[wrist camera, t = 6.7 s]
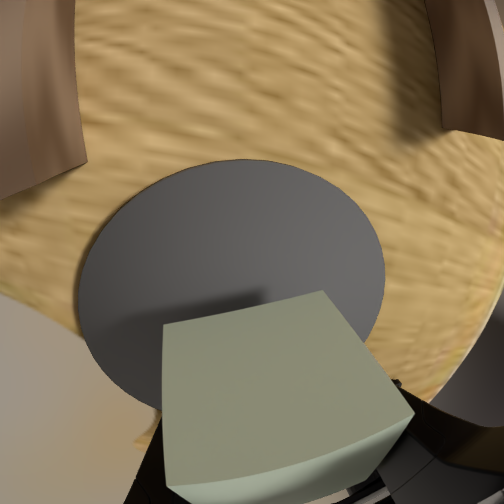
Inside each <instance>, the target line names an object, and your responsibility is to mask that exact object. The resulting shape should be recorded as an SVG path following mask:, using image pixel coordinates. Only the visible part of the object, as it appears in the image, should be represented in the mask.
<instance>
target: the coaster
mask: <svg viewBox="0 0 504 504" xmlns="http://www.w3.org/2000/svg"><path fill="white" fill-rule="evenodd" d="M384 285H385V264H384V258H383V253H382V248H381V245H380V242H379V240H378V237H377V234H376V232H375V230H374V228H373V226H372V225H371V223H370V221H369V219H368V218H367V216H366V215H365V214H364V212H363V211H362V210H361V209H360V208H359V206H358V205H357V204H356V203H355V202H354V201H353V200H352V199H351V198H350V197H349V196H347V195H346V194H345V193H344V192H343V191H342V190H340V189H339V188H338V187H336V186H334V185H333V184H331V183H329V182H328V181H326V180H324V179H323V178H321V177H319V176H317V175H314V174H312V173H309V172H307V171H304V170H302V169H299V168H296V167H294V166H291V165H286V164H282V163H277V162H272V161H266V160H251V159H236V160H225V161H215V162H210V163H206V164H202V165H198V166H194V167H190V168H187V169H184V170H182V171H179V172H177V173H175V174H172V175H170V176H167V177H165V178H163V179H161V180H159V181H158V182H156V183H154V184H153V185H151V186H149V187H148V188H146V189H144V190H143V191H141V192H140V193H138V194H137V195H136V196H135V197H134V198H132V199H131V200H130V201H129V202H128V203H127V204H125V205H124V206H123V207H122V208H121V209H120V210H119V211H118V212H117V213H116V214H115V216H114V217H113V218H112V219H111V220H110V221H109V223H108V224H107V225H106V226H105V228H104V229H103V230H102V232H101V233H100V235H99V237H98V238H97V240H96V242H95V243H94V245H93V247H92V249H91V250H90V252H89V255H88V257H87V260H86V263H85V265H84V268H83V271H82V275H81V280H80V285H79V291H78V312H79V319H80V325H81V329H82V332H83V335H84V338H85V341H86V344H87V346H88V348H89V350H90V352H91V354H92V356H93V358H94V359H95V361H96V362H97V363H98V365H99V366H100V367H101V369H102V370H103V371H104V372H105V374H106V375H107V376H108V377H109V378H110V379H111V380H112V381H113V382H114V383H115V384H116V385H118V386H119V387H120V388H121V389H123V390H124V391H125V392H126V393H128V394H129V395H131V396H133V397H134V398H136V399H137V400H139V401H141V402H143V403H145V404H147V405H149V406H151V407H153V408H156V409H158V410H161V411H162V347H163V325H164V324H170V323H175V322H181V321H186V320H192V319H197V318H202V317H207V316H212V315H217V314H222V313H227V312H231V311H236V310H241V309H245V308H250V307H254V306H259V305H263V304H267V303H272V302H276V301H280V300H284V299H289V298H293V297H297V296H301V295H305V294H309V293H313V292H317V291H321V290H323V291H324V292H325V294H326V295H327V296H328V297H329V299H330V300H331V301H332V302H333V304H334V305H335V306H336V308H337V309H338V310H339V311H340V313H341V314H342V315H343V317H344V318H345V319H346V321H347V322H348V323H349V324H350V326H351V327H352V328H353V330H354V331H355V332H356V334H357V335H358V336H359V338H360V339H361V340H362V342H363V343H364V342H365V341H366V339H367V338H368V336H369V334H370V332H371V330H372V328H373V326H374V324H375V321H376V319H377V316H378V314H379V311H380V307H381V303H382V299H383V295H384Z"/></svg>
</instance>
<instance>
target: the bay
mask: <svg viewBox="0 0 504 504" xmlns="http://www.w3.org/2000/svg"><path fill="white" fill-rule="evenodd" d="M424 1H425V5H426V9H427V13H428V17H429V21H430V25H431V30H432V35H433V40H434V46H435V52H436V58H437V65H438V73H439V82H440V93H441V107H442V128H446V129H452V130H458V131H463V132H468V133H473V134H477V135H482V136H486V137H491V138H495V139H499V140H502V141H504V32H503V28H502V24H501V21H500V17H499V14H498V10H497V7H496V4H495V1H494V0H424ZM74 15H75V0H0V200H2V199H4V198H6V197H8V196H11V195H13V194H15V193H18V192H20V191H23V190H25V189H28V188H30V187H33V186H35V185H37V184H39V183H41V182H43V181H46V180H48V179H50V178H52V177H54V176H56V175H58V174H61V173H63V172H65V171H67V170H69V169H72V168H74V167H76V166H79V165H81V164H84V163H86V162H88V160H87V155H86V150H85V145H84V139H83V133H82V126H81V119H80V112H79V104H78V95H77V85H76V72H75V52H74Z"/></svg>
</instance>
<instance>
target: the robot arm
mask: <svg viewBox="0 0 504 504" xmlns="http://www.w3.org/2000/svg"><path fill="white" fill-rule="evenodd" d="M392 382H393V383H394V385H395V386H396V387H397V389H398V390H399V392H400V393H401V394H402V396H403V397H404V399H405V400H406V401H407V403H408V404H409V406H410V407H411V408H412V410H413V411H414V413H415V414H414V415H413V417H412V419H411V420H410V422H409V423H408V425H407V426H406V428H405V429H404V431H403V432H402V434H401V435H400V437H399V438H398V440H397V441H396V442H395V444H394V445H393V446H392V448H391V449H390V451H389V452H388V453H387V455H386V456H385V457H384V458H383V460H382V461H381V462H380V464H379V465H378V466H377V467H376V469H375V470H374V471H373V472H372V473H371V475H370V476H369V477H368V478H367V479H366V480H365V481H363V482H360V483H358V484H356V485H353V486H351V487H349V488H346V490H347V492H348V494H349V497H347V498H345V499H343V500H341V501H339V502H337V503H332V504H363V503H365V502H367V501H369V500H371V499H373V498H375V497H377V496H379V495H380V494H382V493H384V492H386V491H389V492H390V494H391V495H389V496H387V497H385V498H383V499H382V500H380V501H378V502H376V503H374V504H504V426H500V427H484V426H480V425H477V424H474V423H471V422H469V421H466V420H463V419H461V418H458V417H456V416H453V415H451V414H449V413H446V412H444V411H442V410H440V409H438V408H436V407H434V406H432V405H430V404H428V403H427V402H425V401H423V400H422V401H421V399H420V398H418V397H416V396H414V395H413V394H411V393H409V392H407V391H406V390H404V389H402V388H400V387H401V385H402V383H401V382H400V381H399V379H396V380H394V381H392ZM123 504H192V503H190V502H189V501H187V500H185V499H184V498H182V497H181V496H180V495H178V494H177V493H175V492H174V491H172V490H171V489H170V488H168V487H167V486H166V475H165V462H164V447H163V425H162V417H161V419H160V422H159V424H158V426H157V428H156V431H155V433H154V435H153V438H152V440H151V442H150V445H149V447H148V449H147V451H146V454H145V456H144V459H143V461H142V463H141V465H140V468H139V470H138V473H137V475H136V479H135V480H134V482H133V484H132V486H131V489H130V491H129V493H128V495H127V497H126V499H125V501H124V503H123Z"/></svg>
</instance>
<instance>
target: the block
mask: <svg viewBox="0 0 504 504" xmlns="http://www.w3.org/2000/svg"><path fill="white" fill-rule="evenodd" d="M414 414H415V413H414V411H413V410H412V408H411V407H410V406H409V404H408V403H407V401H406V400H405V399H404V397H403V396H402V394H401V393H400V392H399V390H398V389H397V387H396V386H395V385H394V383H393V382H392V381H391V379H390V378H389V376H388V375H387V374H386V372H385V371H384V370H383V368H382V367H381V366H380V364H379V363H378V362H377V360H376V359H375V357H374V356H373V355H372V353H371V352H370V351H369V349H368V348H367V347H366V345H365V344H364V343H363V342H362V340H361V339H360V338H359V336H358V335H357V334H356V332H355V331H354V330H353V328H352V327H351V326H350V324H349V323H348V322H347V321H346V319H345V318H344V317H343V315H342V314H341V313H340V311H339V310H338V309H337V308H336V306H335V305H334V304H333V302H332V301H331V300H330V299H329V297H328V296H327V295H326V294H325V292H324V291H323V290H321V291H317V292H313V293H309V294H305V295H301V296H297V297H293V298H289V299H284V300H280V301H276V302H272V303H267V304H263V305H259V306H254V307H250V308H245V309H241V310H236V311H231V312H227V313H222V314H217V315H212V316H207V317H202V318H197V319H192V320H186V321H181V322H175V323H170V324H164V325H163V347H162V425H163V447H164V462H165V475H166V486H167V487H168V488H170V489H171V490H172V491H174V492H175V493H177V494H178V495H180V496H181V497H182V498H184V499H185V500H187V501H189V502H190V503H192V504H304V503H307V502H310V501H314V500H316V499H319V498H322V497H325V496H328V495H331V494H333V493H336V492H339V491H341V490H344V489H346V488H349V487H351V486H353V485H356V484H358V483H360V482H363V481H365V480H366V479H367V478H368V477H369V476H370V475H371V473H372V472H373V471H374V470H375V469H376V467H377V466H378V465H379V464H380V462H381V461H382V460H383V458H384V457H385V456H386V455H387V453H388V452H389V451H390V449H391V448H392V446H393V445H394V444H395V442H396V441H397V440H398V438H399V437H400V435H401V434H402V432H403V431H404V429H405V428H406V426H407V425H408V423H409V422H410V420H411V419H412V417H413V415H414Z"/></svg>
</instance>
